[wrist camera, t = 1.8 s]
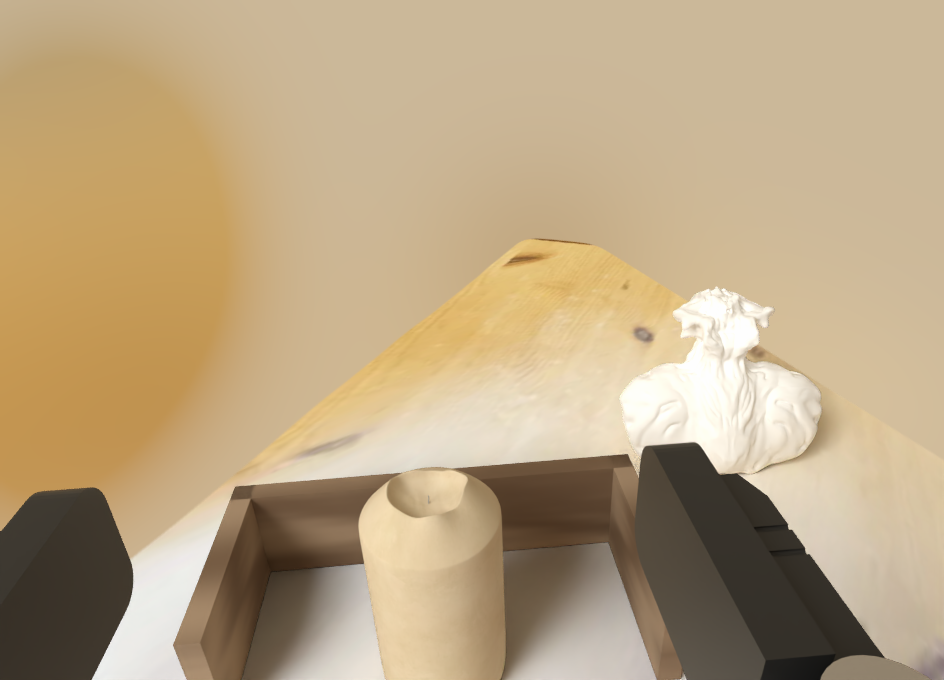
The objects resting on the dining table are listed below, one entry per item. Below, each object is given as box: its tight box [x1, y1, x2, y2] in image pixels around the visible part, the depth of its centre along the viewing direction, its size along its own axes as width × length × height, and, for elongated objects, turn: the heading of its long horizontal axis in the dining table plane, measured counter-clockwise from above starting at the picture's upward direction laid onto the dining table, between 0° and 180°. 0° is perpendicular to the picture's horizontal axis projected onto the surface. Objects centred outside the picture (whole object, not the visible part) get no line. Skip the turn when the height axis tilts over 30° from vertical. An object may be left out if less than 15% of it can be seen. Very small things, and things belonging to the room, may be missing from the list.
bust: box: [619, 286, 822, 474], centre depth 39 cm, size 12×8×11 cm
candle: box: [358, 467, 506, 680], centre depth 26 cm, size 6×6×10 cm
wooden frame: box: [173, 454, 682, 680], centre depth 29 cm, size 9×20×5 cm, turn 94°
